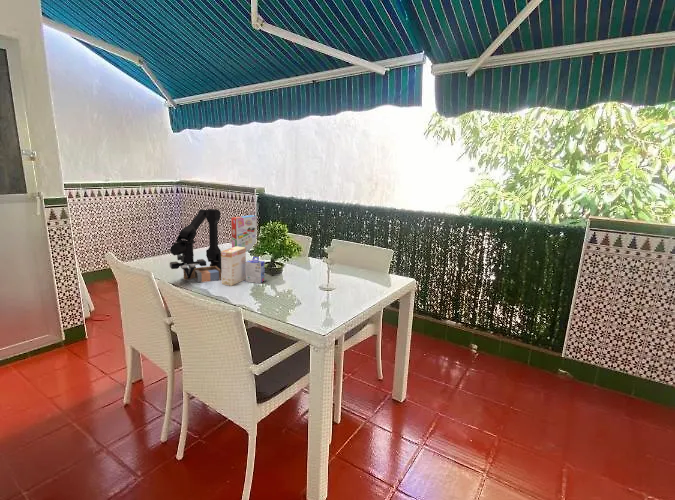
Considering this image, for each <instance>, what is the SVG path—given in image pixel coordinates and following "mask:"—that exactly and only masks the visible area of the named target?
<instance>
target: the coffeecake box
mask: <svg viewBox="0 0 675 500" xmlns="http://www.w3.org/2000/svg"><path fill="white" fill-rule="evenodd" d="M246 252H247V251H246V248H245V247H239V246H236V247H233V248H232V247H230V248H228V249H227V248H225V249H224V250H221V270H222V272H221V285H224V286H230V287H231V286H234V285H236V284H238V283H240V282H242V281H246V262H247V259H246V257H247V255H246V254H247V253H246Z"/></svg>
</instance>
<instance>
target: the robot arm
mask: <svg viewBox="0 0 675 500" xmlns="http://www.w3.org/2000/svg"><path fill="white" fill-rule="evenodd" d="M205 219H206V221H207V223H208V232H209V233H208V234H209V235H208V236H209V247H208V248H207V249H206V250H205V252H206V253H205V254H206V255H205V256H206V258H207V261H208V262H209V263H210V264H209V266H217V267H218V268H219V269H220V270H221V251H222V250H221V249H220V247H219V238H218V237H219V233H218V228H219V227H218V224H219V222H220V220H221V211H220V210H219V209H218V208H217V209H215V208H207V209H204V208H202V209H201V208H200V209H198V213H197V214H196V215H195V216H194V218H193V219H192V220H191V221H190V223H189V224H188V225H185V226H184V227H183V228H182V229H181V230H180V231H179V234H178V236H177V238H176V241H174V242H173V243H172V245H171V246H170V253H171V255H173V256H177V257H176V258H177V259H176V260H177V261H170V262H169V268H170V269H171V270H173V269H174V270H176V269H179V268H181V269H182V270H183V269H184V271H185V273H186V275H187V277H188V279H187V280H191V279H190V277H191V274H192V272H193V270H194V268H197V267H196V266H198V265H199V266H201V267H207V261H206V260H205V259H203V258H201V259H196V261H194V255H195V254H194V244H196V241H195V240H194V239H195V238H196V236H197V230H198V229H199V227H200V226H201V225H202V224H203V222H204V221H205ZM178 261H180V262H178ZM188 269H189V271H188ZM221 273H222V270H221Z"/></svg>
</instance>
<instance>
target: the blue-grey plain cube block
mask: <svg viewBox="0 0 675 500" xmlns="http://www.w3.org/2000/svg"><path fill="white" fill-rule="evenodd" d="M208 271H209V272H210V280H211V281H210V282H214V281H220V280H219V272H218V271H217V270H208Z"/></svg>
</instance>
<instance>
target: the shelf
mask: <svg viewBox="0 0 675 500" xmlns="http://www.w3.org/2000/svg"><path fill="white" fill-rule="evenodd" d="M182 270H183V280H191V279H194V280H195V270H199V271H207V270H217V271H218V272H219V280H218V281H222V272H221V270H220V269H219V268H218V267H217V266H210V265H209V266H201V267H196V268H194V270H193V272H192V274H191V277H190V279H188V277H187V275H186V273H185V271H184V269H182ZM188 271H189V268H188Z"/></svg>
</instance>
